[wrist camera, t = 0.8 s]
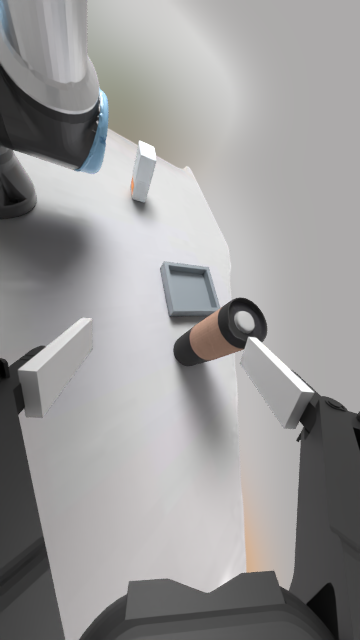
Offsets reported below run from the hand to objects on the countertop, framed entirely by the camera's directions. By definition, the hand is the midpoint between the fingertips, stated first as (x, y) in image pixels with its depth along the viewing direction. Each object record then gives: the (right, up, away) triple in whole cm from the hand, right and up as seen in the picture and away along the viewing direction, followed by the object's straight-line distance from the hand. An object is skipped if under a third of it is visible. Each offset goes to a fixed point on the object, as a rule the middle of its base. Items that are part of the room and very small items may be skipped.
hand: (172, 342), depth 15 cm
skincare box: (-13, +41, +41) cm, 59 cm away
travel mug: (+2, -5, +28) cm, 28 cm away
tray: (+3, +10, +35) cm, 36 cm away
